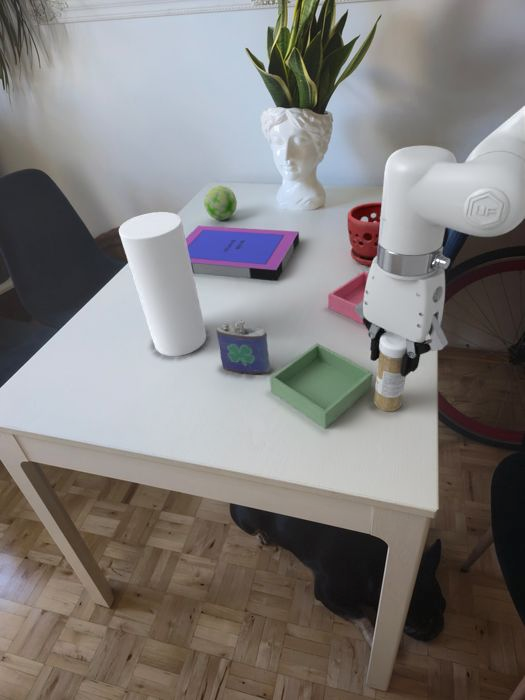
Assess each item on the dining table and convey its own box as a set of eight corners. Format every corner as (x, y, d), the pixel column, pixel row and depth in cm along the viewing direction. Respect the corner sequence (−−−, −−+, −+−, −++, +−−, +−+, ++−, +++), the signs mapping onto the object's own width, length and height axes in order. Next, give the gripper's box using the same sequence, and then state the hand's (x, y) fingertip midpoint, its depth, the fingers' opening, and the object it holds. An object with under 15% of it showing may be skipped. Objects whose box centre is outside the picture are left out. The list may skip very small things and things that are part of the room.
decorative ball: (229, 226, 131) (224, 193, 125) (201, 223, 135) (195, 191, 129) (244, 213, 138) (240, 181, 131) (217, 210, 142) (212, 179, 135)
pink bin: (409, 303, 93) (412, 289, 90) (375, 330, 87) (377, 315, 84) (362, 284, 100) (363, 271, 98) (328, 308, 94) (328, 294, 92)
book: (198, 225, 126) (298, 231, 118) (200, 235, 128) (299, 241, 119) (164, 260, 111) (276, 270, 103) (166, 270, 113) (276, 281, 104)
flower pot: (395, 244, 113) (401, 199, 106) (403, 269, 103) (409, 221, 96) (344, 246, 115) (346, 201, 108) (347, 271, 105) (349, 224, 98)
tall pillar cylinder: (216, 330, 91) (193, 215, 75) (186, 361, 84) (154, 242, 68) (175, 319, 96) (146, 208, 80) (143, 348, 89) (105, 233, 73)
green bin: (371, 387, 75) (373, 372, 72) (325, 428, 69) (325, 413, 66) (317, 357, 82) (317, 342, 80) (271, 391, 76) (269, 377, 74)
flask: (271, 366, 81) (266, 319, 74) (267, 377, 79) (262, 330, 72) (225, 360, 83) (216, 315, 77) (220, 371, 81) (210, 325, 74)
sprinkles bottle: (375, 390, 74) (382, 327, 65) (403, 395, 73) (413, 331, 64) (371, 410, 71) (378, 346, 62) (400, 415, 69) (411, 350, 61)
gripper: (489, 263, 51) (458, 376, 63) (369, 227, 62) (362, 330, 73) (456, 290, 48) (430, 404, 59) (335, 247, 58) (333, 352, 69)
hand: (392, 362), depth 66 cm, fingers closed on sprinkles bottle, 4 cm apart
